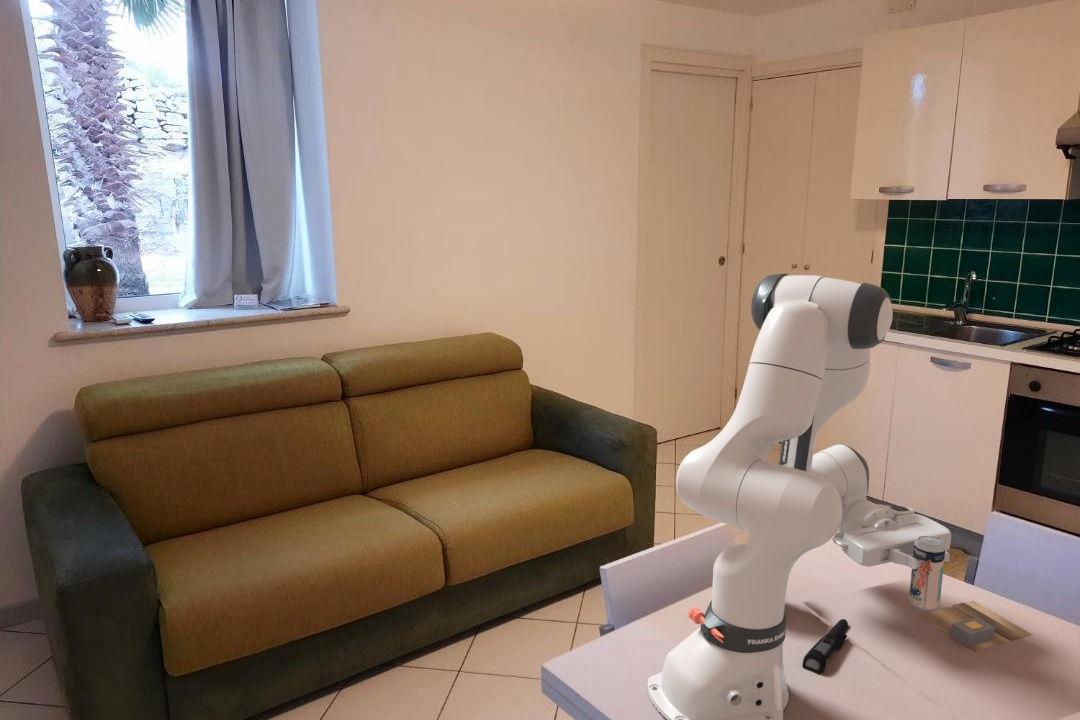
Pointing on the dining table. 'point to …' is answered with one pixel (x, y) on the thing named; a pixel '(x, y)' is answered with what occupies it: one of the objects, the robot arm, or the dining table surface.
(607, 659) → the dining table surface
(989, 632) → the grey box with label
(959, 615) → the subfloor panel
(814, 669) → the electric trimmer
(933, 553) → the beer can
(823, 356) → the robot arm
